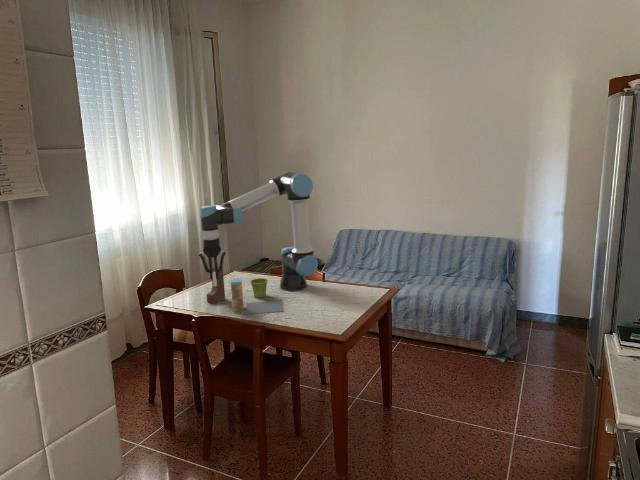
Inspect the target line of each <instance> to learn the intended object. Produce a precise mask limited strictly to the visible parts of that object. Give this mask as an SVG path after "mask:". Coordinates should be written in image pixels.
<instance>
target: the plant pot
mask: <svg viewBox="0 0 640 480" xmlns="http://www.w3.org/2000/svg"><path fill="white" fill-rule="evenodd" d="M268 280H269V279H267V278H263V277H262V278H261V277H260V278H259V277H257V278H253V279H251V280H250V281H249V284H250V285H251V287H252V291H253V295H254V298H257V299H260V298H265V297H266V296H267V285H268Z"/></svg>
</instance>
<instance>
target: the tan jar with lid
mask: <svg viewBox="0 0 640 480" xmlns="http://www.w3.org/2000/svg"><path fill="white" fill-rule="evenodd" d="M230 291H231V292H230V294H231V301H232V303H231V304H232V312H233V313H235V312H236V313H237V312H244V307H245V306H244V297H243V283H242V278H235V279H234V278H233V279H230Z"/></svg>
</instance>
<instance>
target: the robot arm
mask: <svg viewBox="0 0 640 480" xmlns="http://www.w3.org/2000/svg"><path fill="white" fill-rule="evenodd" d="M313 189H314V184H313V181H312V178H311V177H309V175H308V174H305V173H303V172H294V171H293V172H292V171H290V172H289V171H288V172H284V173H283V174H281V175H278V176H277V177H275V178H272V179H271V180H269V182H268V183H265V184H264V185H262V186H259V187H257V188H254V189H253V190H251V191H249V192H246V193H244V194H242V195H240V196H238V197H235V198H233V199H231V200H229V201H227V202H224V203H222V204H215V205H212V204H211V205H204V206H201V207H200V220H201V233H202V238H203V240H202V242H203V249H202V251H201V252H199V253H198V256H199V258H200V259H201V263H202V264H203V267H204V270H205V272H206V273H209V276H210V280H211V281H212V280H213V286H217V279H218V278H219V275H218V272H220V271H221V270H222V266H224V265H223V264H224V258H225V256H226V254H227V252H226V250H223V249H222V247H221V244H220V238H219V237H220V233H219V226H221V225H229V224H237V223H241V222H242V220H243V212H244V211H246V210H248V209H250V208H252V207H254V206H256V205H258V204H259V205H260V204H261V203H263V202H265V201H268V200H269V199H272V198H274V197H277V198H278V197H280V196H281V197H282V196H284V195H286V196H287V201H288V202H289V203H290V207H291V208H290V211H291V223H292V225H291V226H292V233H293V234H292V235H293V246H287V247H286V246H285V247H283V248H282V249H281V253H280V254H281V255H280V256H281V267H282V268H281V269H282V274H281V278H280V283H279V287H280V288H279V289H280V290H283V291H291V292H292V291H294V292H295V291H300V290H304V289H306V288H307V286H308V285H307V282H308V281H307V280H306V277H308V276H309V277H310V276H311V275H313V274H315V272H316V271H317V269H318V265H319V262H318V259H317V258H316V256H314V255H315V254H314V248H313V247H311V241H310V239H311V237H310V225H309V224H310V223H309V221H310V220H309V208H308V206H309V205H308V201H309V200H310V199H311V193H312V192H313ZM219 255H221V256H220V262H218V257H219ZM205 256H206V257H207V258H208V263H207V261H206V258H205ZM212 259H213V260H212ZM213 262H214V266H215V272H213V268H212V267H213ZM218 263H219V266H220V267H219V269H218Z"/></svg>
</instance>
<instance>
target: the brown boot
mask: <svg viewBox="0 0 640 480" xmlns="http://www.w3.org/2000/svg"><path fill="white" fill-rule="evenodd" d="M223 266H224V265H222V270H221V271H220V272H218V275H219V278H218V279H217V286H213V280H211V283H212V286H211V290H210V291H209V292H208V293H206V301H207V303H211V304H215V303H218V302H220V301H221V300H224V299H226V292H225V278H224V268H223ZM219 267H220V264H219V265H218V269H219ZM212 268H213V272H215V265H212Z"/></svg>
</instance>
